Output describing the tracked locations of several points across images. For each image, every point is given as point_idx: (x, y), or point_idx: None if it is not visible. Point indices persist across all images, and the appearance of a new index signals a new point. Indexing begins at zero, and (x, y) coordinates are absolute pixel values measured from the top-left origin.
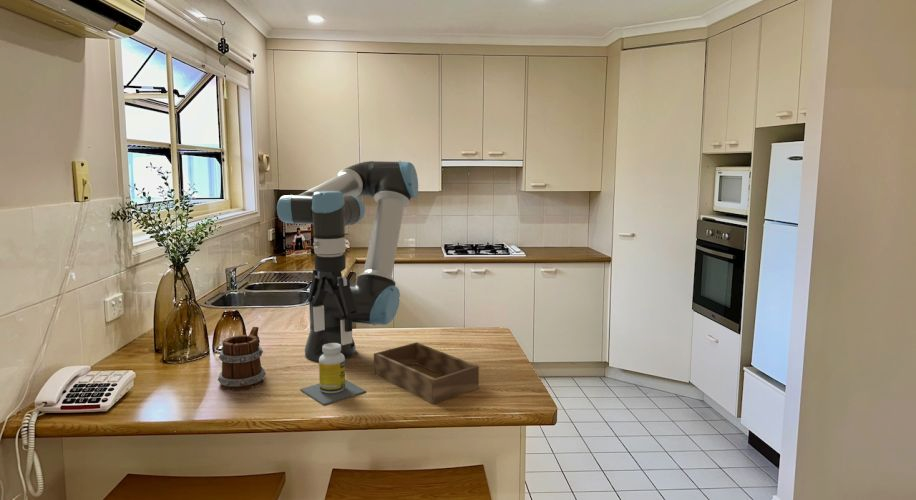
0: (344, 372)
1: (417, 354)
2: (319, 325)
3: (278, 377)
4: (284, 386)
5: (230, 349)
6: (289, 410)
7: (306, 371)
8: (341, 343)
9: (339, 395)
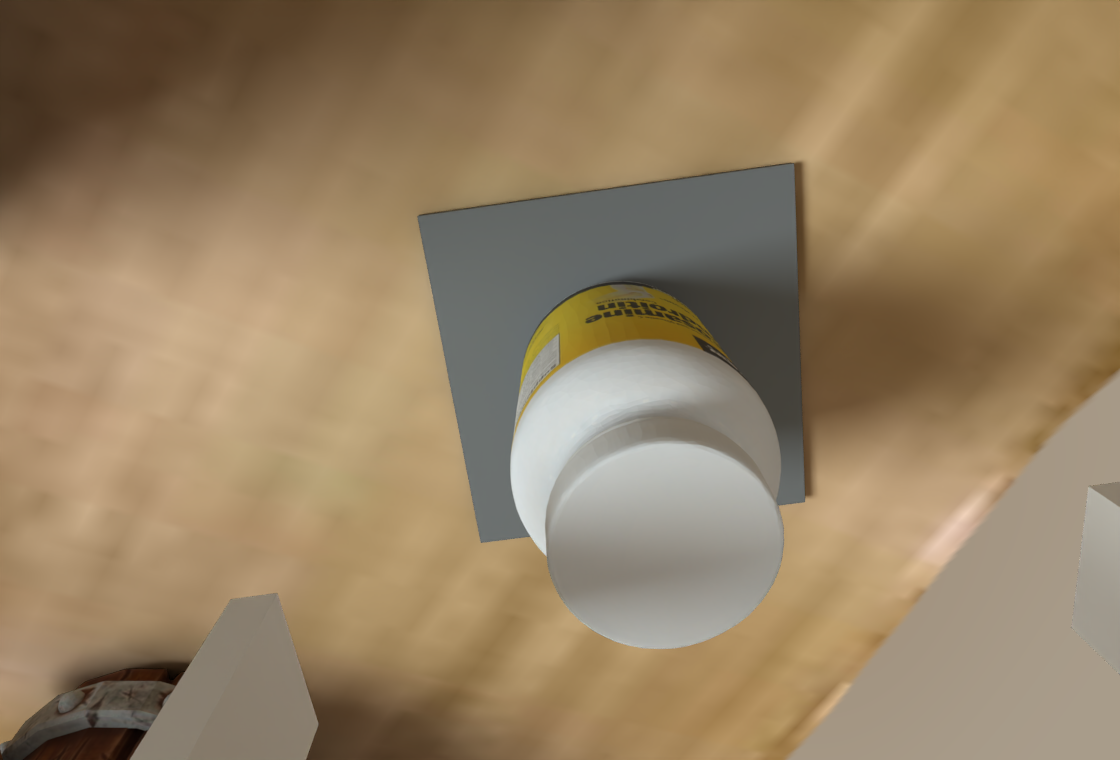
0: (709, 337)
1: None
2: (272, 737)
3: (172, 583)
4: (358, 595)
5: None
6: (735, 666)
7: (128, 390)
8: (1089, 636)
9: (746, 368)
